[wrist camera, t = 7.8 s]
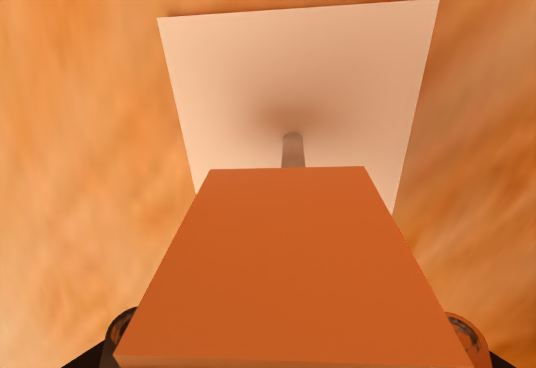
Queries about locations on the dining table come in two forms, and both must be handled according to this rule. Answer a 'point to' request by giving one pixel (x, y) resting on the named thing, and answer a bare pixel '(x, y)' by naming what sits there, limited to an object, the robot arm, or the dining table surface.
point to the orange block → (289, 281)
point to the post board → (300, 86)
